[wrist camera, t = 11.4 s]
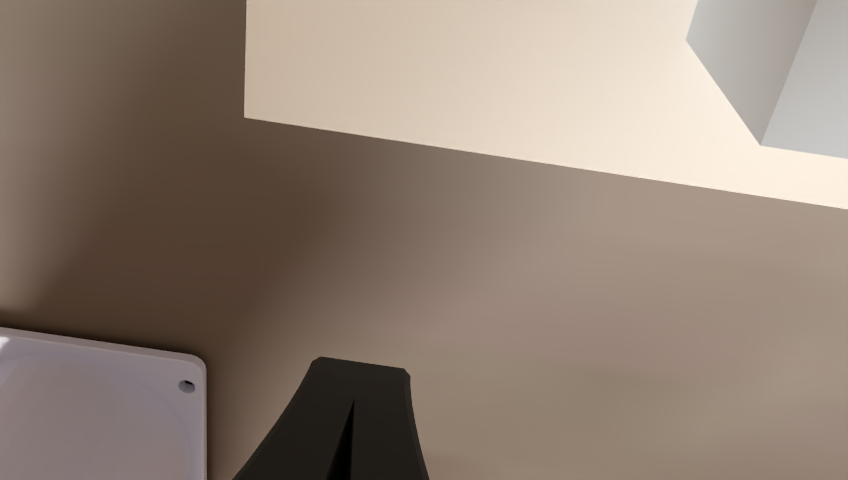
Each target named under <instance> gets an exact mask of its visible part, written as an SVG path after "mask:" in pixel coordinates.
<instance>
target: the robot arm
mask: <svg viewBox="0 0 848 480" xmlns="http://www.w3.org/2000/svg"><path fill="white" fill-rule="evenodd" d="M185 380H187V381H190V382H192V383H193V384H194V385H190V384H187V383H185V382H184V381H185ZM0 480H207V403H206V366H205V364H204V362H203V361H202V360H201V359H200V358H198V357H197V356H194V355H190V354H184V353H177V352H170V351H163V350H156V349H149V348H142V347H135V346H129V345H122V344H115V343H108V342H101V341H94V340H87V339H80V338H73V337H66V336H59V335H52V334H45V333H38V332H31V331H24V330H18V329H11V328H4V327H0ZM232 480H429V476H428V473H427V469H426V466H425V462H424V459H423V455H422V451H421V447H420V443H419V439H418V434H417V429H416V424H415V419H414V413H413V407H412V400H411V389H410V375H409V374H408V373H407V372H406V370H405V369H403V368H396V367H389V366H382V365H375V364H369V363H362V362H355V361H348V360H341V359H334V358H327V357H319V358H317V359H316V360H314V361H312V363H311V365H310V367H309V369H308V371H307V373H306V375H305V377H304V379H303V381H302V383H301V384H300V386H299V388H298V389H297V391H296V393H295V394H294V396H293V398H292V399H291V401H290V402H289V404H288V405H287V407H286V408H285V410H284V411H283V413H282V414H281V416H280V417H279V419H278V420H277V422H276V423H275V425H274V426H273V427H272V429H271V430H270V431H269V433H268V434H267V436H266V437H265V438H264V440H263V441H262V442H261V444H260V445H259V446H258V448H257V449H256V450H255V452H254V453H253V455H252V456H251V457H250V459H249V460H248V461H247V462H246V464H245V465H244V466H243V467H242V469H241V470H240V471H239V472H238V473H237V475H236V476H235V477H234V478H233V479H232Z"/></svg>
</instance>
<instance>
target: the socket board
mask: <svg viewBox="0 0 848 480" xmlns="http://www.w3.org/2000/svg"><path fill="white" fill-rule="evenodd" d="M697 2H698V0H247V10H246V53H245V96H244V117H245V118H251V119H258V120H264V121H271V122H277V123H284V124H291V125H297V126H304V127H310V128H317V129H324V130H330V131H337V132H343V133H350V134H356V135H363V136H370V137H376V138H383V139H389V140H396V141H403V142H409V143H416V144H422V145H429V146H435V147H442V148H449V149H455V150H462V151H468V152H475V153H482V154H488V155H495V156H501V157H508V158H514V159H521V160H528V161H534V162H541V163H547V164H554V165H561V166H567V167H574V168H580V169H587V170H593V171H600V172H607V173H613V174H620V175H626V176H633V177H640V178H646V179H653V180H659V181H666V182H672V183H679V184H686V185H692V186H699V187H705V188H712V189H719V190H725V191H732V192H738V193H745V194H751V195H758V196H765V197H771V198H778V199H784V200H791V201H798V202H804V203H811V204H817V205H824V206H830V207H837V208H844V209H848V159H845V158H838V157H832V156H825V155H818V154H812V153H805V152H799V151H792V150H785V149H779V148H772V147H766V146H760V145H759V143H758V142H757V140H756V139H755V138H754V136H753V135H752V133H751V132H750V131H749V129H748V128H747V126H746V125H745V124H744V122H743V121H742V119H741V118H740V116H739V115H738V114H737V112H736V111H735V109H734V108H733V107H732V105H731V104H730V102H729V101H728V99H727V98H726V97H725V95H724V94H723V92H722V91H721V90H720V88H719V87H718V85H717V84H716V83H715V81H714V80H713V78H712V77H711V75H710V74H709V73H708V71H707V70H706V68H705V67H704V66H703V64H702V63H701V61H700V60H699V59H698V57H697V56H696V54H695V53H694V51H693V50H692V49H691V47H690V46H689V44H688V43H687V42H686V37H687V34H688V30H689V27H690V24H691V21H692V18H693V15H694V11H695V8H696V5H697Z"/></svg>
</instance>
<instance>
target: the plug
mask: <svg viewBox="0 0 848 480" xmlns="http://www.w3.org/2000/svg"><path fill="white" fill-rule="evenodd" d="M686 42H687V43H688V44H689V46H690V47H691V49H692V50H693V51H694V53H695V54H696V56H697V57H698V59H699V60H700V61H701V63H702V64H703V66H704V67H705V68H706V70H707V71H708V73H709V74H710V75H711V77H712V78H713V80H714V81H715V83H716V84H717V85H718V87H719V88H720V90H721V91H722V92H723V94H724V95H725V97H726V98H727V99H728V101H729V102H730V104H731V105H732V107H733V108H734V109H735V111H736V112H737V114H738V115H739V116H740V118H741V119H742V121H743V122H744V124H745V125H746V126H747V128H748V129H749V131H750V132H751V133H752V135H753V136H754V138H755V139H756V140H757V142H758V143H759V145H760V146H766V147H772V148H779V149H785V150H792V151H799V152H805V153H812V154H818V155H825V156H832V157H838V158H845V159H848V0H698V2H697V5H696V8H695V11H694V15H693V18H692V21H691V24H690V27H689V30H688V34H687V37H686Z"/></svg>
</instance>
